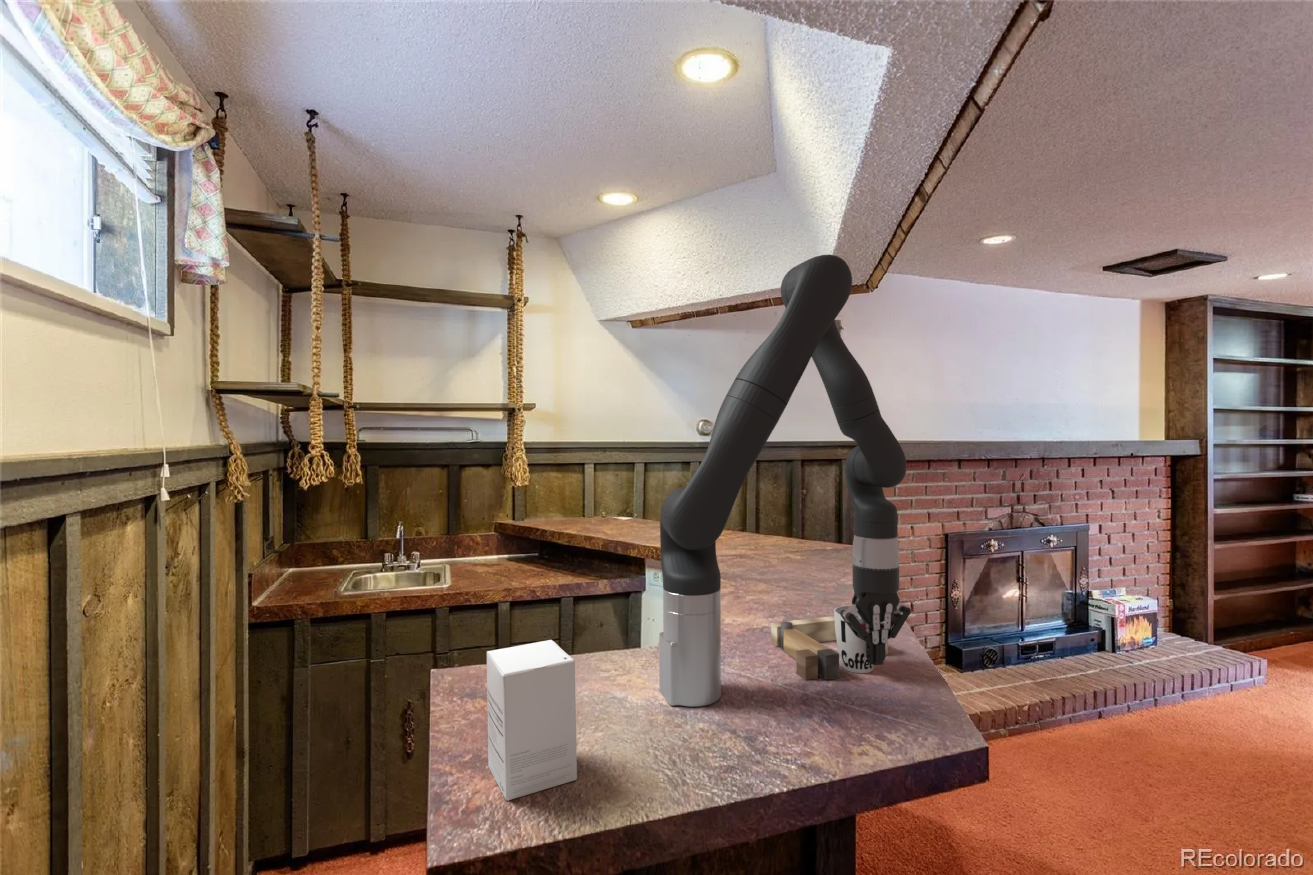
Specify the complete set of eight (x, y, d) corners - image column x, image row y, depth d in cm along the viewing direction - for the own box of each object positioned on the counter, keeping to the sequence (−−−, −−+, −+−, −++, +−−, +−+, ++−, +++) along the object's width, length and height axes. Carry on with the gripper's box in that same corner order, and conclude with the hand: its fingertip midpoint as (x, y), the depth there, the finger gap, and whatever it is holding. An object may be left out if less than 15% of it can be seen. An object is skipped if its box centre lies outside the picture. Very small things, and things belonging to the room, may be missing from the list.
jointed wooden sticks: (805, 680, 106) (805, 656, 106) (757, 644, 123) (757, 624, 123) (907, 665, 112) (907, 643, 112) (848, 633, 129) (848, 614, 129)
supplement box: (554, 748, 84) (553, 637, 84) (578, 781, 76) (577, 659, 76) (486, 765, 80) (485, 649, 79) (504, 803, 72) (503, 674, 71)
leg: (825, 679, 105) (825, 651, 105) (777, 646, 121) (777, 622, 121) (839, 677, 106) (839, 649, 106) (789, 645, 122) (789, 620, 122)
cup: (831, 672, 109) (831, 615, 109) (837, 656, 116) (837, 603, 116) (880, 679, 106) (880, 621, 105) (883, 662, 113) (883, 608, 113)
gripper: (854, 569, 101) (855, 676, 101) (923, 564, 104) (923, 667, 105) (829, 560, 108) (829, 660, 108) (894, 555, 111) (894, 651, 112)
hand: (875, 663), depth 106 cm, fingers closed
